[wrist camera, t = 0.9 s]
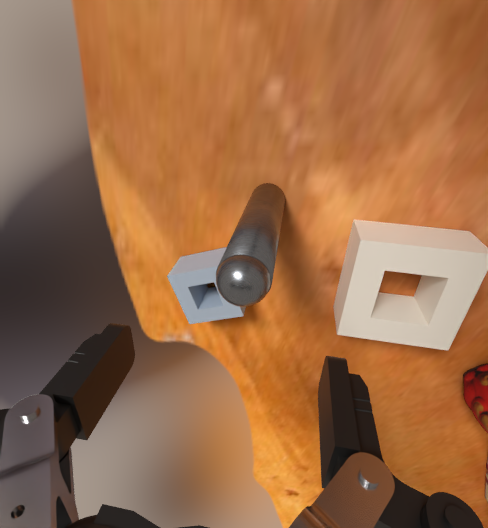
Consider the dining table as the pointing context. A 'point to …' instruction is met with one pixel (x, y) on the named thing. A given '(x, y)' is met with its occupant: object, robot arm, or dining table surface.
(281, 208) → the grey metal peg
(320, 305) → the dining table surface
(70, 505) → the robot arm
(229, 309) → the blue-grey square-hole block
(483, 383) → the red clay folk toy
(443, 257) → the white square-hole block
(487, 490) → the gift box
